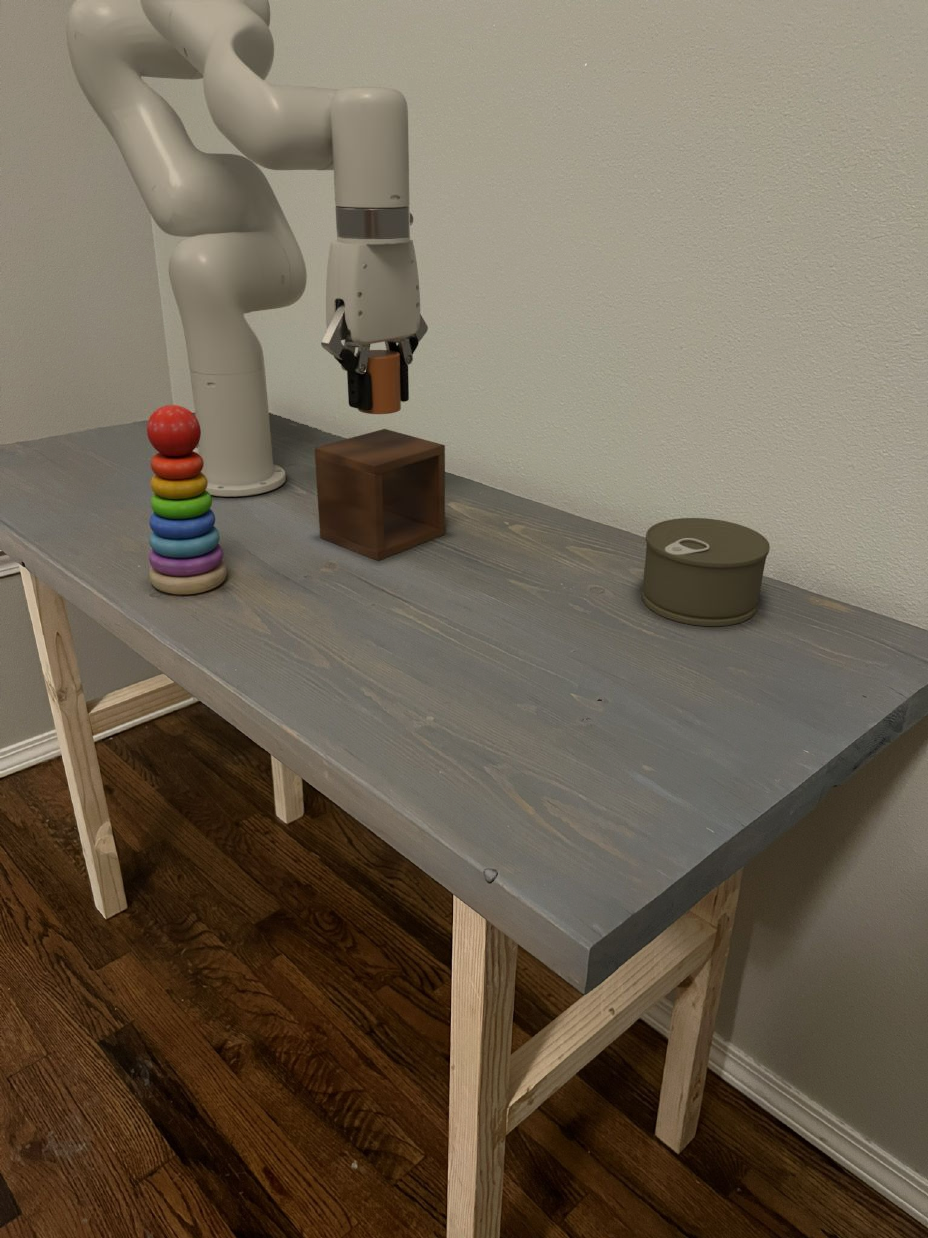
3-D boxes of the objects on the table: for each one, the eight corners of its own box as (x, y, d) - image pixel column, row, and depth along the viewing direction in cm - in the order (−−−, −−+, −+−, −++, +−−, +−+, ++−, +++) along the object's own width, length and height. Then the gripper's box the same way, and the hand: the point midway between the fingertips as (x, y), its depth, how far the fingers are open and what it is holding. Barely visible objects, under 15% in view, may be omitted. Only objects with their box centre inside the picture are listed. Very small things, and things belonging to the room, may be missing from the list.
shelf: (319, 537, 110) (314, 447, 105) (387, 514, 117) (384, 428, 112) (378, 561, 104) (374, 466, 99) (445, 534, 111) (445, 444, 106)
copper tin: (348, 408, 103) (346, 353, 100) (380, 401, 106) (378, 347, 103) (378, 416, 100) (376, 360, 97) (410, 408, 103) (409, 353, 101)
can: (783, 607, 94) (795, 544, 91) (705, 639, 88) (714, 573, 85) (692, 568, 103) (700, 509, 100) (615, 594, 96) (621, 533, 93)
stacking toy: (162, 604, 93) (135, 420, 85) (141, 576, 99) (113, 401, 91) (238, 587, 97) (219, 409, 89) (213, 561, 103) (193, 392, 95)
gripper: (406, 220, 103) (409, 386, 111) (283, 228, 91) (297, 411, 99) (456, 224, 98) (455, 396, 106) (334, 232, 87) (343, 424, 95)
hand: (379, 402), depth 103 cm, fingers closed on copper tin, 4 cm apart
